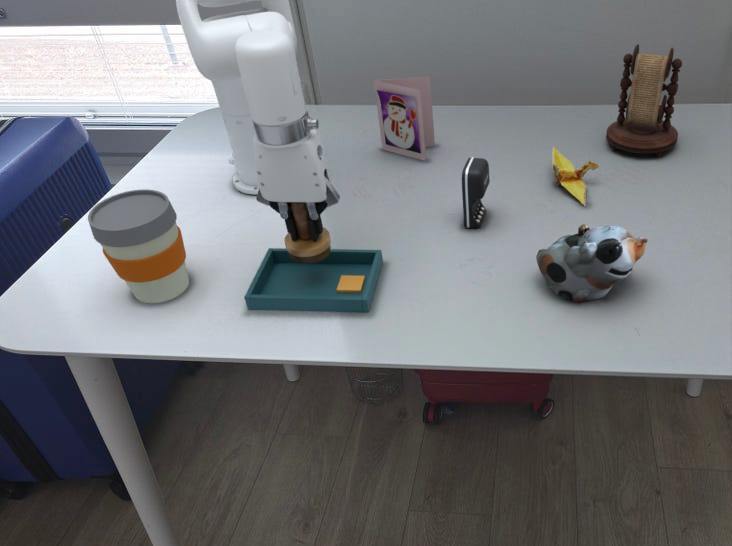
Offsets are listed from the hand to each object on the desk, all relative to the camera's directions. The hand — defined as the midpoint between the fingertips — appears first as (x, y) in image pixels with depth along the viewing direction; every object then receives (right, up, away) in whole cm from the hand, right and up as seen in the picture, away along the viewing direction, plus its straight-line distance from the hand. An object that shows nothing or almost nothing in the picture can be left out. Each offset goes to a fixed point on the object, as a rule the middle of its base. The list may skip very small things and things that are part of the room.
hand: (306, 235), depth 110 cm
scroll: (+63, +26, +37) cm, 78 cm away
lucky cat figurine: (+46, -7, +3) cm, 46 cm away
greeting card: (+14, +26, +40) cm, 49 cm away
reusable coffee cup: (-26, -8, +7) cm, 28 cm away
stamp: (0, -2, +2) cm, 3 cm away
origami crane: (+46, +15, +26) cm, 55 cm away
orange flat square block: (+7, -8, +4) cm, 11 cm away
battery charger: (+28, +6, +18) cm, 34 cm away
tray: (+1, -8, +5) cm, 9 cm away
